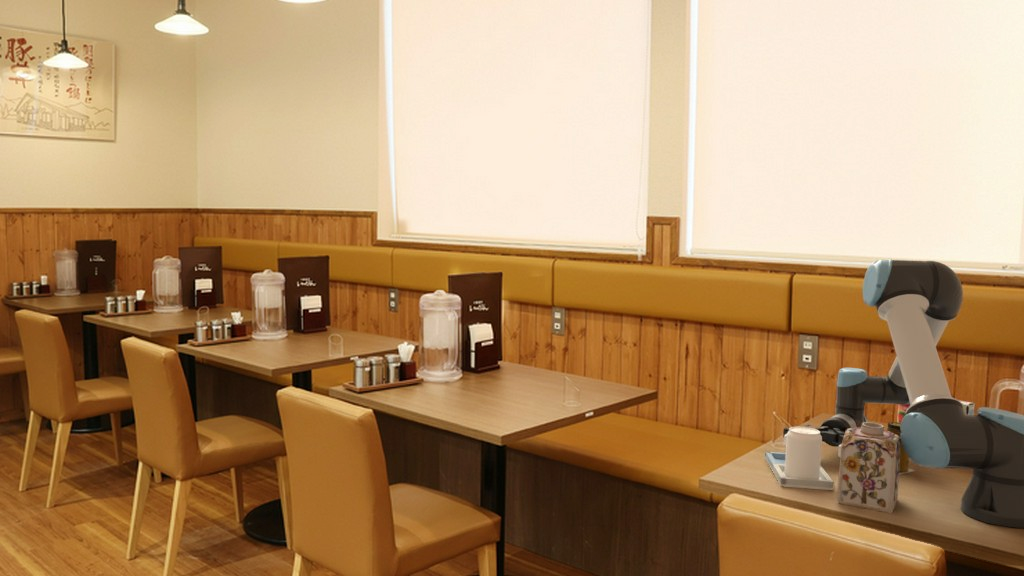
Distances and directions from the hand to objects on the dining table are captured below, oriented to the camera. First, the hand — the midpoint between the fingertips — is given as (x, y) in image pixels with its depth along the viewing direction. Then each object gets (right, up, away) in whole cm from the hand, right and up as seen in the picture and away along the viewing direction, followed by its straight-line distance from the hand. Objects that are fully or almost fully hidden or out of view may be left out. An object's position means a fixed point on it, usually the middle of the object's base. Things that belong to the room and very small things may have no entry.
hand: (811, 446), depth 208 cm
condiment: (+23, -8, +7) cm, 26 cm away
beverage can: (-4, -7, -5) cm, 10 cm away
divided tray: (-4, -7, 0) cm, 8 cm away
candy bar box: (+43, -7, +18) cm, 47 cm away
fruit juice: (+43, -6, +35) cm, 56 cm away
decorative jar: (+6, -9, -19) cm, 22 cm away
